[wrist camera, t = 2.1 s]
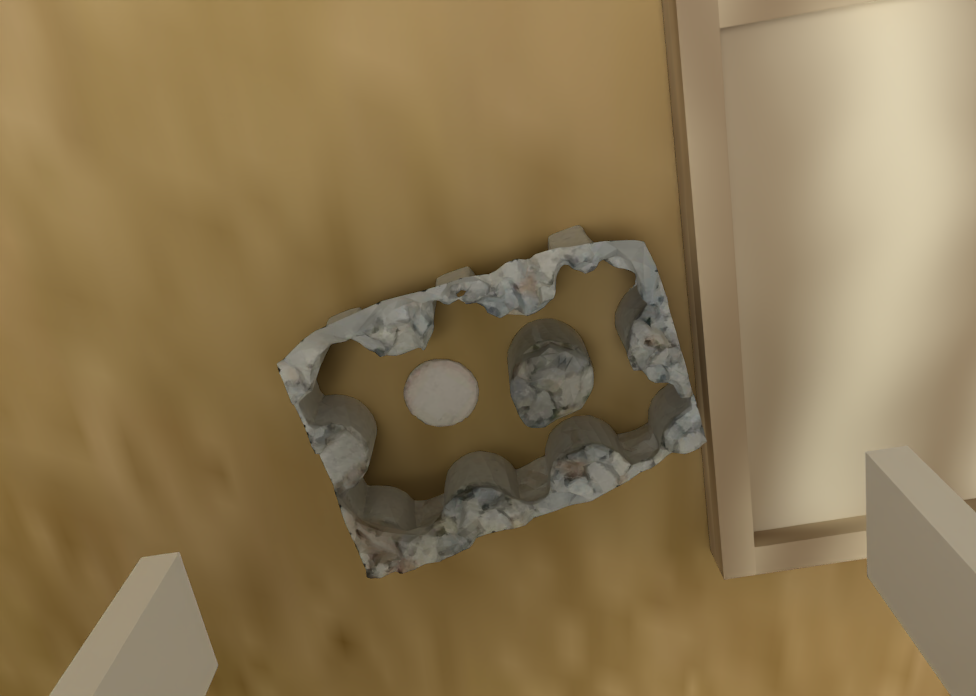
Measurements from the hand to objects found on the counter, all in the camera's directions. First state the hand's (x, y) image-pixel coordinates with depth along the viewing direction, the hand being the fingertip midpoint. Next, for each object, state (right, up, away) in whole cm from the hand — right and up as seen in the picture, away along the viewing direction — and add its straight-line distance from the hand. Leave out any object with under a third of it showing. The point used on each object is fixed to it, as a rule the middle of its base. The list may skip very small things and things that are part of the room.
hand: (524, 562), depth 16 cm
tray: (+13, +7, +8) cm, 17 cm away
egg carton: (-1, +4, +10) cm, 10 cm away
